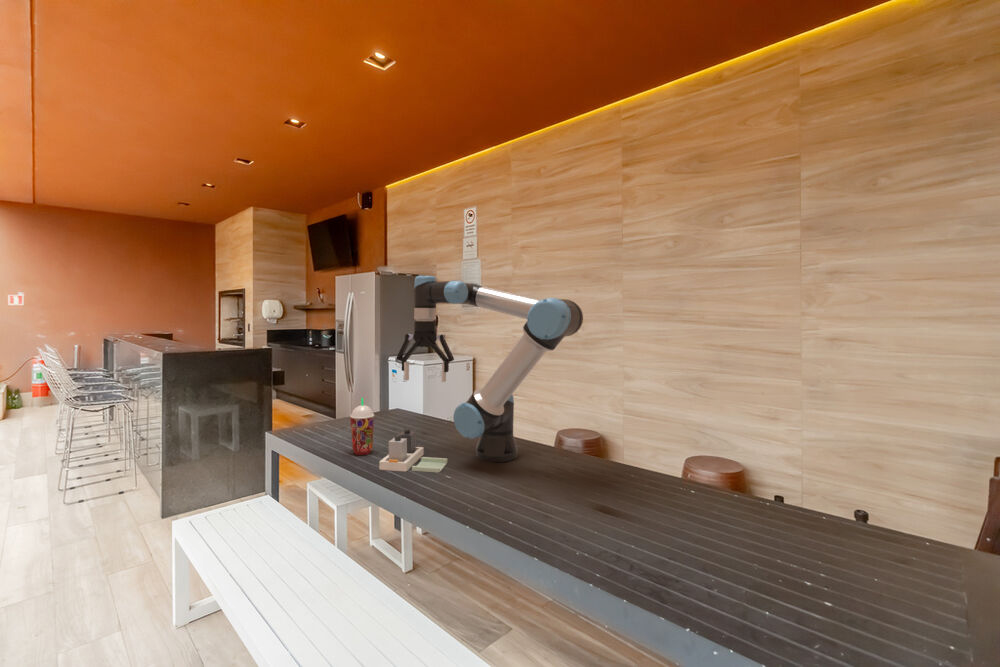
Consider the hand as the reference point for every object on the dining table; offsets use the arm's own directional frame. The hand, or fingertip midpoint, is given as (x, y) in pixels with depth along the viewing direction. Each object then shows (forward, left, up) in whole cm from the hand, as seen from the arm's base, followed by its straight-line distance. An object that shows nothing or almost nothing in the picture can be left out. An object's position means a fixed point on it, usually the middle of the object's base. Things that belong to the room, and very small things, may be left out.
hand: (425, 380), depth 157 cm
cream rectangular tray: (+5, +8, -27) cm, 28 cm away
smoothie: (+23, +1, -27) cm, 35 cm away
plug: (+5, +13, -26) cm, 29 cm away
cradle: (-5, +11, -27) cm, 29 cm away
